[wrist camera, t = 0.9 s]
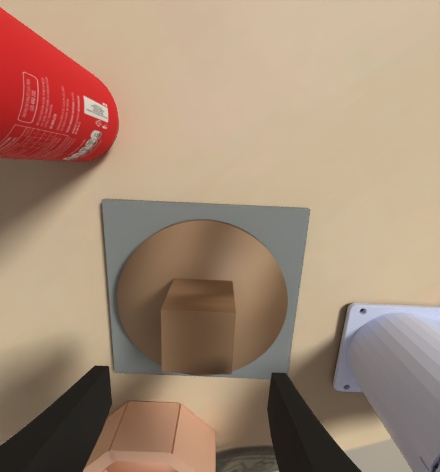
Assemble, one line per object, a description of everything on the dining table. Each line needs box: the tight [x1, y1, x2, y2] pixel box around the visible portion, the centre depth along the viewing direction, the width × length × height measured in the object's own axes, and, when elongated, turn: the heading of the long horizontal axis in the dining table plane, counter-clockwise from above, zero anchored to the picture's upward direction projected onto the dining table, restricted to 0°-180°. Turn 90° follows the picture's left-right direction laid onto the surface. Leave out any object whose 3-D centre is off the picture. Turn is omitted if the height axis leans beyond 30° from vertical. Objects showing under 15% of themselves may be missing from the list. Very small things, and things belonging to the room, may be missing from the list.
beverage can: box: [0, 7, 119, 161], centre depth 11 cm, size 5×5×12 cm
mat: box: [102, 199, 310, 379], centre depth 19 cm, size 14×14×1 cm
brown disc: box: [117, 219, 288, 376], centre depth 16 cm, size 12×12×5 cm
